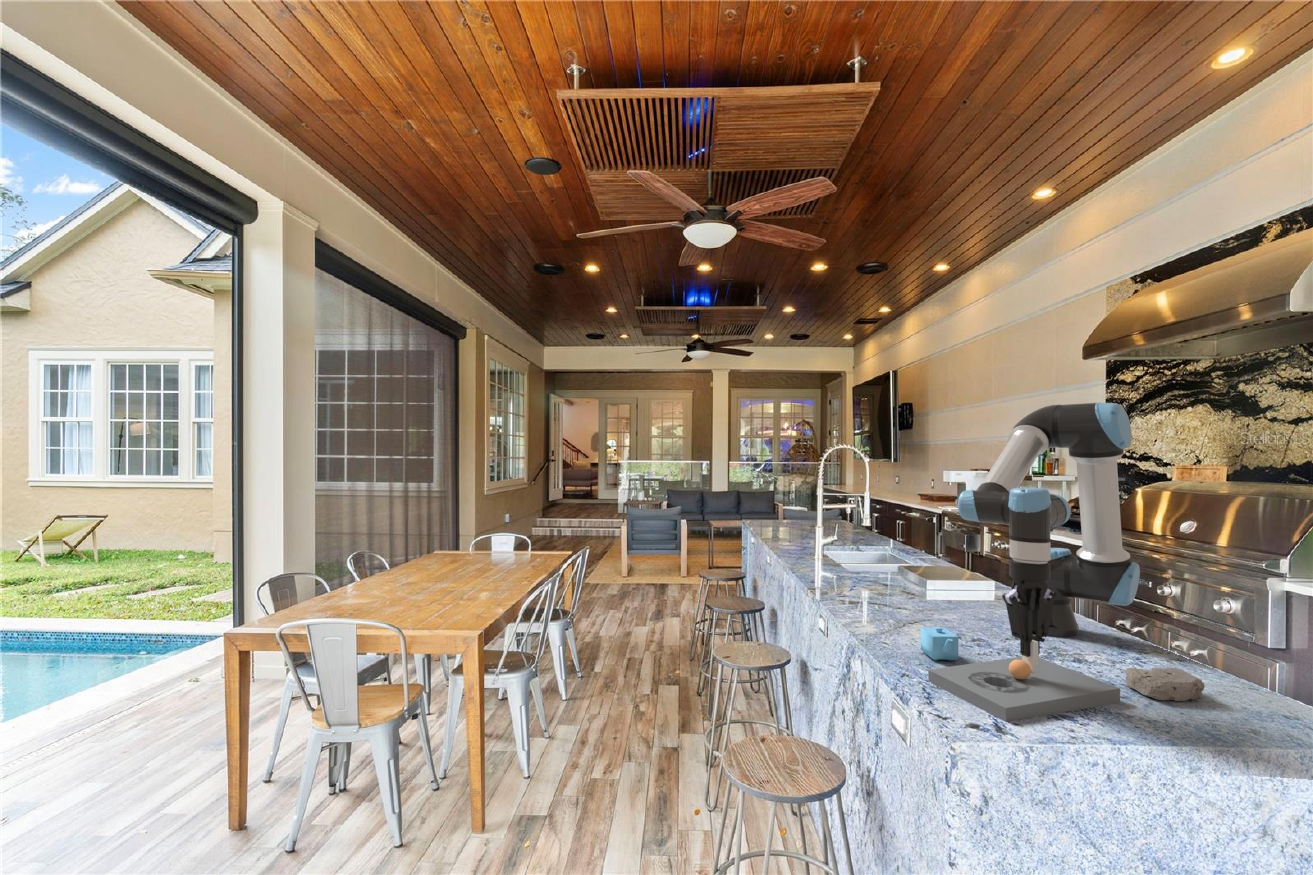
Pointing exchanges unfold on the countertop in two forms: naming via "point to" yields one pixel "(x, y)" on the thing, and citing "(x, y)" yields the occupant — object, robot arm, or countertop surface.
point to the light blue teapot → (939, 643)
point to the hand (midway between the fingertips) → (1030, 670)
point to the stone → (1165, 683)
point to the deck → (1023, 689)
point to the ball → (1019, 669)
